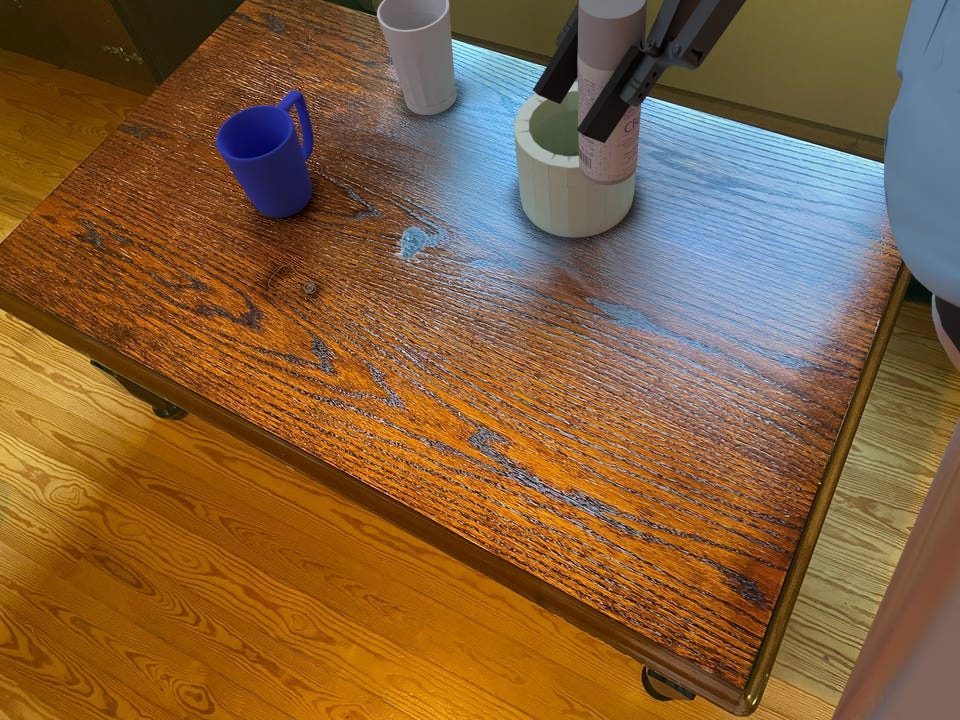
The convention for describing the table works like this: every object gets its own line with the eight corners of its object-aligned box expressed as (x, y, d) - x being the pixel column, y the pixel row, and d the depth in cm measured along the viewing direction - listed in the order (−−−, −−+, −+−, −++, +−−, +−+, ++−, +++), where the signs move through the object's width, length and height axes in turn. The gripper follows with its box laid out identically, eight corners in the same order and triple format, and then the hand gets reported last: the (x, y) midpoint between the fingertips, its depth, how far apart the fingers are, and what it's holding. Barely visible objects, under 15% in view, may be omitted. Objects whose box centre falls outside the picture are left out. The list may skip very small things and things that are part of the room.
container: (631, 188, 62) (643, 22, 50) (573, 182, 63) (570, 17, 51) (641, 147, 65) (654, -23, 52) (584, 141, 66) (584, -26, 53)
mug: (350, 159, 91) (326, 89, 83) (296, 235, 86) (265, 168, 78) (292, 144, 94) (263, 75, 86) (236, 216, 89) (199, 150, 80)
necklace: (313, 295, 81) (311, 290, 80) (265, 292, 82) (262, 286, 81) (322, 270, 83) (319, 265, 82) (274, 267, 84) (272, 262, 83)
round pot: (654, 181, 84) (662, 107, 76) (592, 255, 80) (593, 185, 72) (562, 140, 89) (560, 67, 81) (499, 208, 85) (489, 137, 76)
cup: (457, 120, 93) (441, 31, 83) (392, 119, 94) (369, 31, 84) (468, 75, 97) (455, -15, 87) (406, 74, 98) (385, -14, 88)
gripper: (926, -141, 45) (673, 195, 56) (713, -237, 54) (530, 70, 64) (888, -213, 39) (616, 176, 50) (658, -306, 48) (468, 42, 59)
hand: (568, 116), depth 57 cm, fingers closed on container, 5 cm apart
